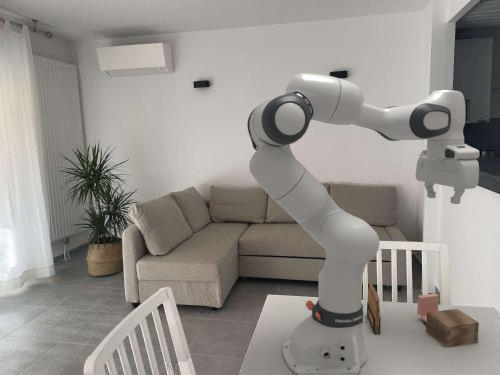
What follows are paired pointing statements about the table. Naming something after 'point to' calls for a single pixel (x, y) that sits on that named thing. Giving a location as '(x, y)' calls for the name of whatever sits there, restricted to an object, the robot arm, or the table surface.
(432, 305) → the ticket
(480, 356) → the table surface
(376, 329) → the brown flat panel
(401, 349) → the table surface
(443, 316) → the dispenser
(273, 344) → the table surface
